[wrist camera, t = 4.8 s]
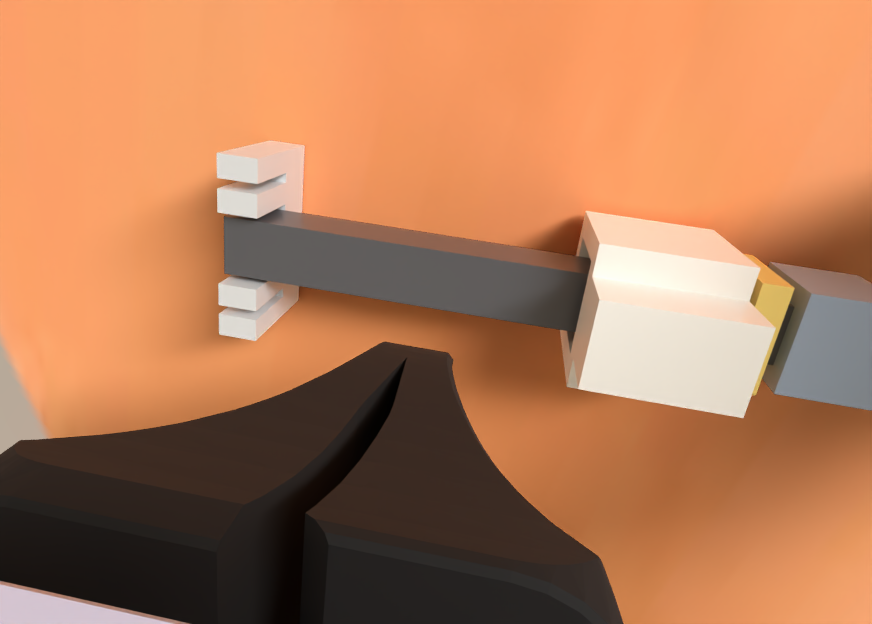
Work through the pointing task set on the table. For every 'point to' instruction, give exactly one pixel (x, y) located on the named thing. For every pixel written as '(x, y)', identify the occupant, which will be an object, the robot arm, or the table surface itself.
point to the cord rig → (497, 279)
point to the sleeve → (666, 317)
